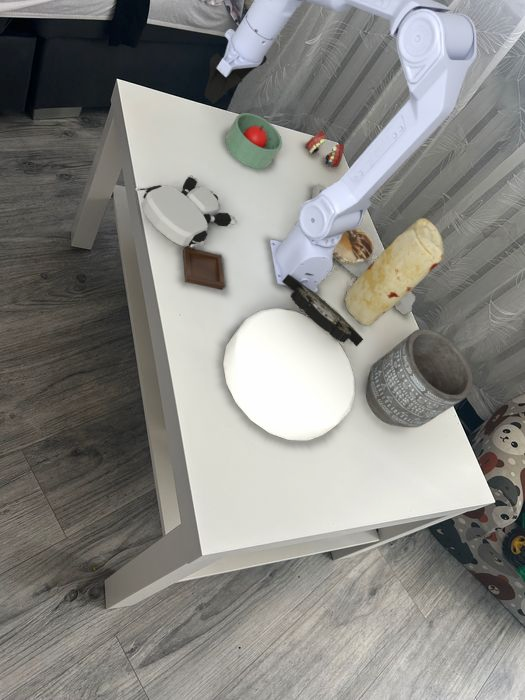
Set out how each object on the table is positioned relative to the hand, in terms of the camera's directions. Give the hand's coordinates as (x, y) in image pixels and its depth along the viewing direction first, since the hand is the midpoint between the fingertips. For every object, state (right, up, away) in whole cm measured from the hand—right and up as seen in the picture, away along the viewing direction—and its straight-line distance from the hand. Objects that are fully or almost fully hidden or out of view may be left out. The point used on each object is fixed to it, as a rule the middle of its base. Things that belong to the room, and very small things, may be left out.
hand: (219, 90), depth 102 cm
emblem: (+18, -37, -1) cm, 41 cm away
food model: (+24, -37, +4) cm, 44 cm away
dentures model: (+17, -1, +21) cm, 27 cm away
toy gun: (+29, -20, +17) cm, 40 cm away
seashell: (+23, -25, +1) cm, 34 cm away
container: (+10, -49, -13) cm, 52 cm away
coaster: (-2, -32, -10) cm, 34 cm away
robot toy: (-6, -24, -6) cm, 25 cm away
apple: (+5, -6, +12) cm, 14 cm away
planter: (+27, -53, -6) cm, 60 cm away
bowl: (+5, -6, +13) cm, 15 cm away
